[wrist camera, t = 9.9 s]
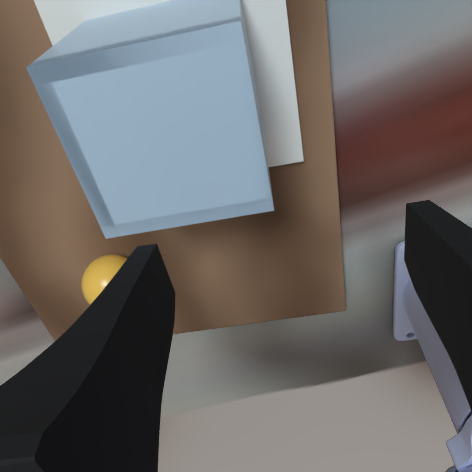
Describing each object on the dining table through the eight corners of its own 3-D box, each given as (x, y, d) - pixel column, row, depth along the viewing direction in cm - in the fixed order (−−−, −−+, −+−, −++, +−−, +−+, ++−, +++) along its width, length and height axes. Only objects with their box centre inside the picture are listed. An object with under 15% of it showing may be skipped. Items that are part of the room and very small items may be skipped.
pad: (276, -78, 15) (276, -78, 15) (302, 157, 21) (303, 161, 20) (29, -21, 16) (25, -20, 16) (115, 189, 22) (114, 194, 21)
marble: (135, 238, 23) (124, 277, 21) (152, 280, 25) (144, 320, 23) (81, 247, 24) (64, 286, 21) (102, 288, 25) (88, 328, 23)
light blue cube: (238, -15, 16) (240, 21, 11) (263, 134, 19) (274, 210, 15) (85, 20, 17) (26, 67, 12) (136, 158, 20) (105, 238, 15)
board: (314, -106, 16) (318, -107, 15) (342, 298, 27) (345, 310, 27) (-146, 2, 18) (-164, 7, 17) (65, 337, 29) (60, 349, 28)
